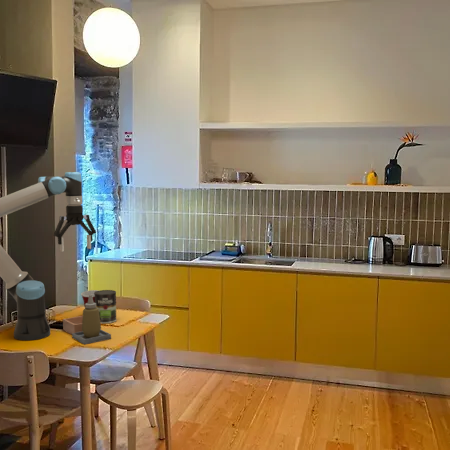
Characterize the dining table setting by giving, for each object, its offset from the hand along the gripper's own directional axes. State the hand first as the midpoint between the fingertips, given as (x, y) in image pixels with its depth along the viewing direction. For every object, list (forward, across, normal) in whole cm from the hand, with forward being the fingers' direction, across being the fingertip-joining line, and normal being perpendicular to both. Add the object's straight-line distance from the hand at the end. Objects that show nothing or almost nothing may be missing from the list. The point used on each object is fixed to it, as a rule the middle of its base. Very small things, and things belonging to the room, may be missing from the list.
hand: (75, 250), depth 263 cm
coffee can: (+35, +11, -7) cm, 37 cm away
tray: (+35, -7, -29) cm, 46 cm away
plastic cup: (+35, +10, +5) cm, 37 cm away
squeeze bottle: (+34, -7, -29) cm, 45 cm away
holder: (+35, -5, -15) cm, 38 cm away
